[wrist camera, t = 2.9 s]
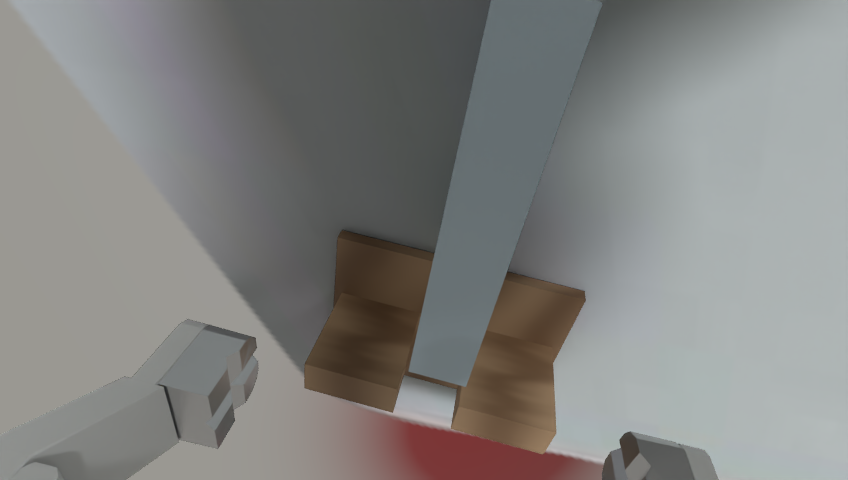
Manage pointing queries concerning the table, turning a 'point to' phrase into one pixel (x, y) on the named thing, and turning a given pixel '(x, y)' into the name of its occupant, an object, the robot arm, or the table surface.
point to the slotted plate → (497, 171)
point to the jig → (396, 332)
